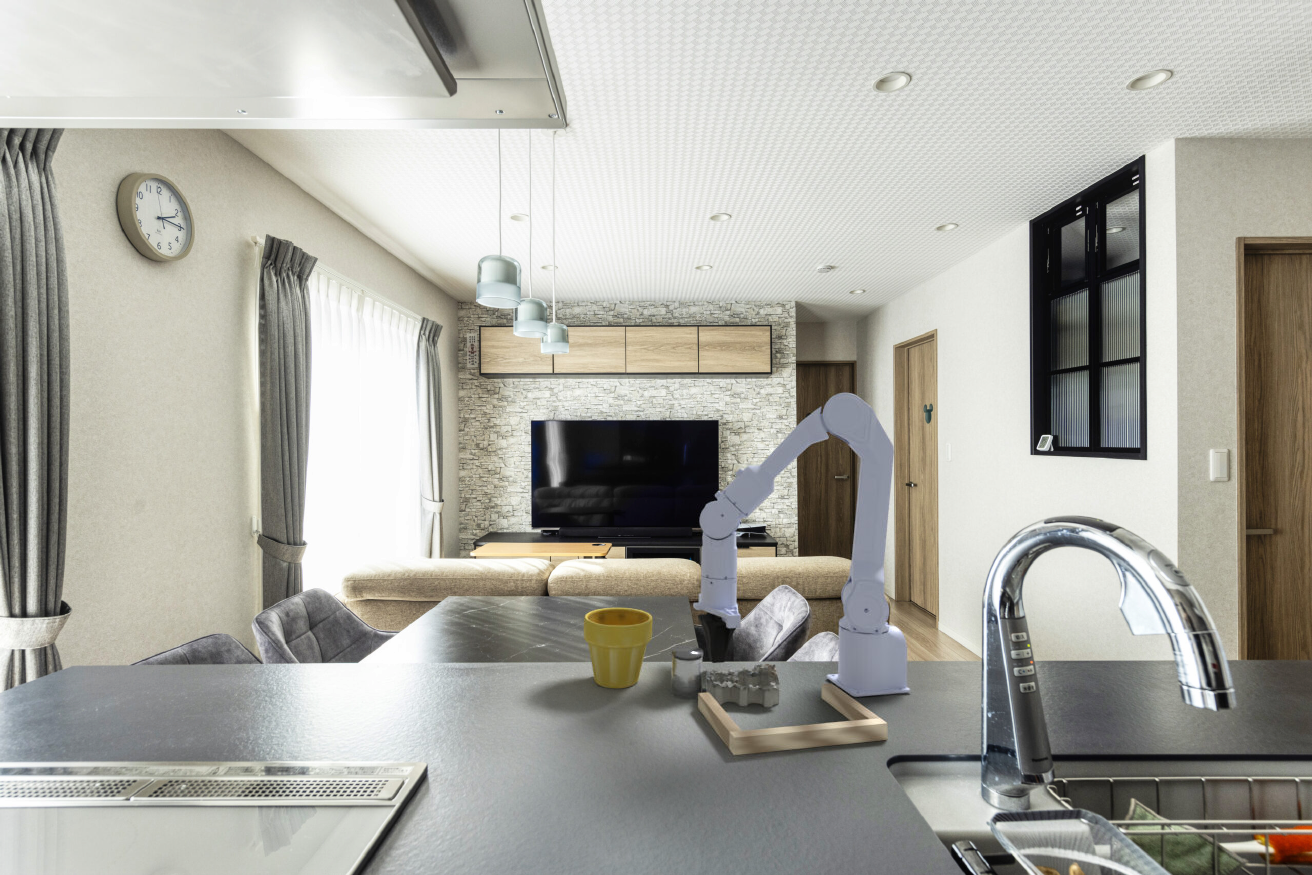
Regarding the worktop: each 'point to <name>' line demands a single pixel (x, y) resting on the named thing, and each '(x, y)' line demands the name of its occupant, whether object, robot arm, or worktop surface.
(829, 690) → the beech bay
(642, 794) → the worktop surface
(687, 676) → the jar with metallic lid
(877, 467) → the robot arm
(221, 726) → the worktop surface
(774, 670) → the egg carton
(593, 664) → the plant pot
